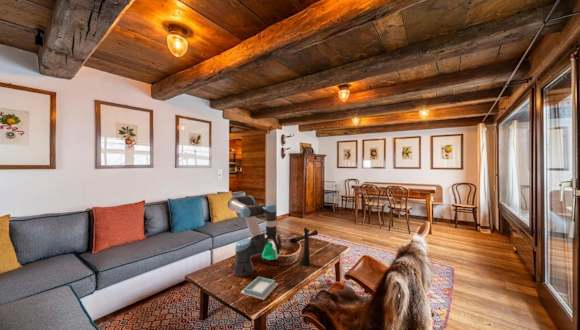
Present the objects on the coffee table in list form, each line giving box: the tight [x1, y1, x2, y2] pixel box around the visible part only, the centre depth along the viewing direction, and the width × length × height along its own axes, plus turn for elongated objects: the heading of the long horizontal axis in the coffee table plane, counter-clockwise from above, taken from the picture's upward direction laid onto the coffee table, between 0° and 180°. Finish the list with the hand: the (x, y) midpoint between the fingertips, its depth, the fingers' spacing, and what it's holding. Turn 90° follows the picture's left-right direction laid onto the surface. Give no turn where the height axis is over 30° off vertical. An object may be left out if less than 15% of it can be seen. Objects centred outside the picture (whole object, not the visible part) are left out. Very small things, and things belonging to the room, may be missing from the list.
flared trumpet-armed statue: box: [289, 227, 319, 267], centre depth 185 cm, size 31×10×30 cm, turn 135°
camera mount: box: [261, 241, 281, 261], centre depth 163 cm, size 12×8×10 cm, turn 145°
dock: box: [240, 275, 279, 301], centre depth 149 cm, size 17×18×3 cm
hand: (271, 256), depth 163 cm, fingers closed on camera mount, 9 cm apart
